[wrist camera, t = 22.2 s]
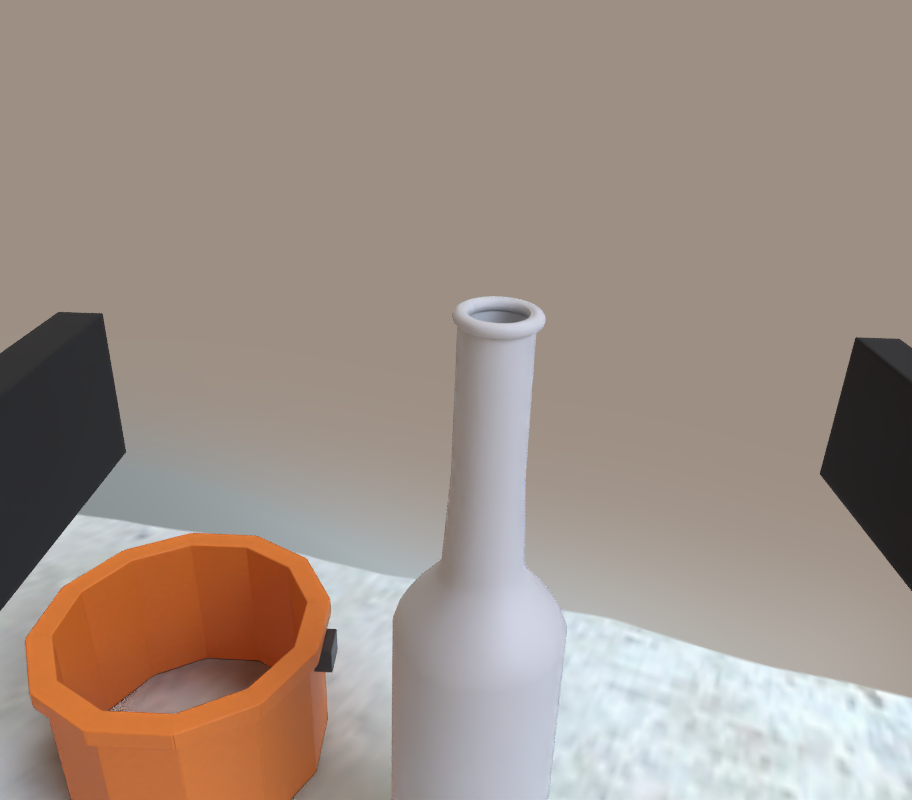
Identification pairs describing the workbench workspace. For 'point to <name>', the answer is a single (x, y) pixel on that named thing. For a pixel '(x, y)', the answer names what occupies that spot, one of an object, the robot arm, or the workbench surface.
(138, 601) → the bucket
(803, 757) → the workbench surface
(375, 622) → the workbench surface
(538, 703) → the bottle
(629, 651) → the workbench surface
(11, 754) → the workbench surface
